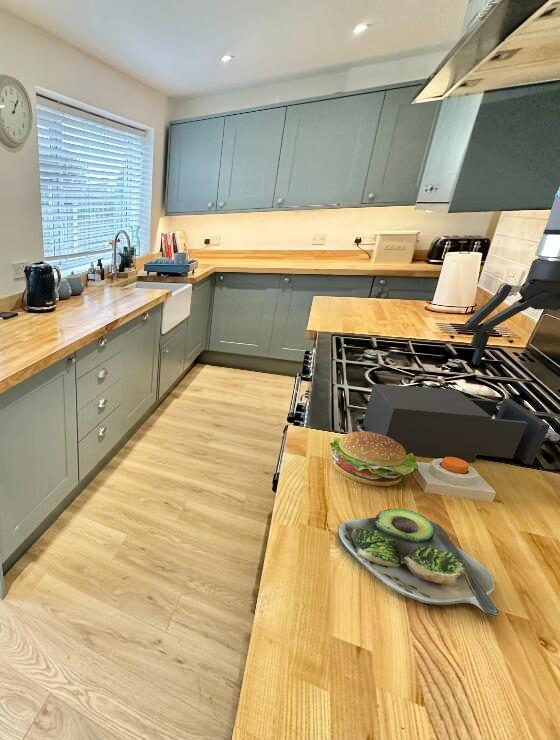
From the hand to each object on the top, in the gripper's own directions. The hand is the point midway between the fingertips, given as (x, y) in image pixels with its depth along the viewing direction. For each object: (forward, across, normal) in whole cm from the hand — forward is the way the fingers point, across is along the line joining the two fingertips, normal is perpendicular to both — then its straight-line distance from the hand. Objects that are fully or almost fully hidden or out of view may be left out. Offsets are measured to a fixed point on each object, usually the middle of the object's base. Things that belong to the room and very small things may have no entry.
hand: (522, 367), depth 84 cm
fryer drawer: (+18, -2, 0) cm, 18 cm away
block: (+19, -9, -20) cm, 29 cm away
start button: (+16, -9, -20) cm, 27 cm away
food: (+19, -22, -22) cm, 37 cm away
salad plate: (+19, -17, -46) cm, 53 cm away
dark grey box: (+19, -13, -3) cm, 24 cm away
